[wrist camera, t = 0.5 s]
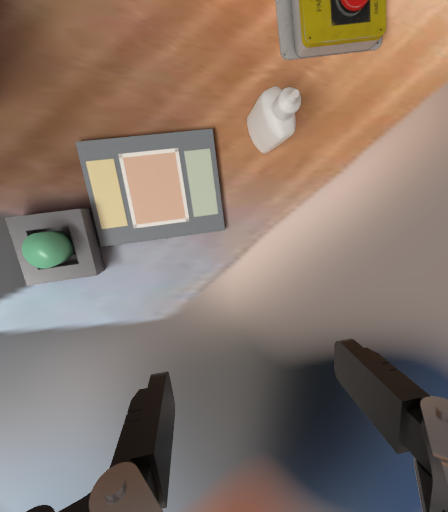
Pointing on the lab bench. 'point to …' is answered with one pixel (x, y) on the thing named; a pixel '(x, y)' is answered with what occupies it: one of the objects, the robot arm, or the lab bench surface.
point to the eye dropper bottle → (273, 117)
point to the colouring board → (152, 186)
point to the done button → (47, 249)
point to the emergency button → (329, 27)
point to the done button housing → (76, 228)
